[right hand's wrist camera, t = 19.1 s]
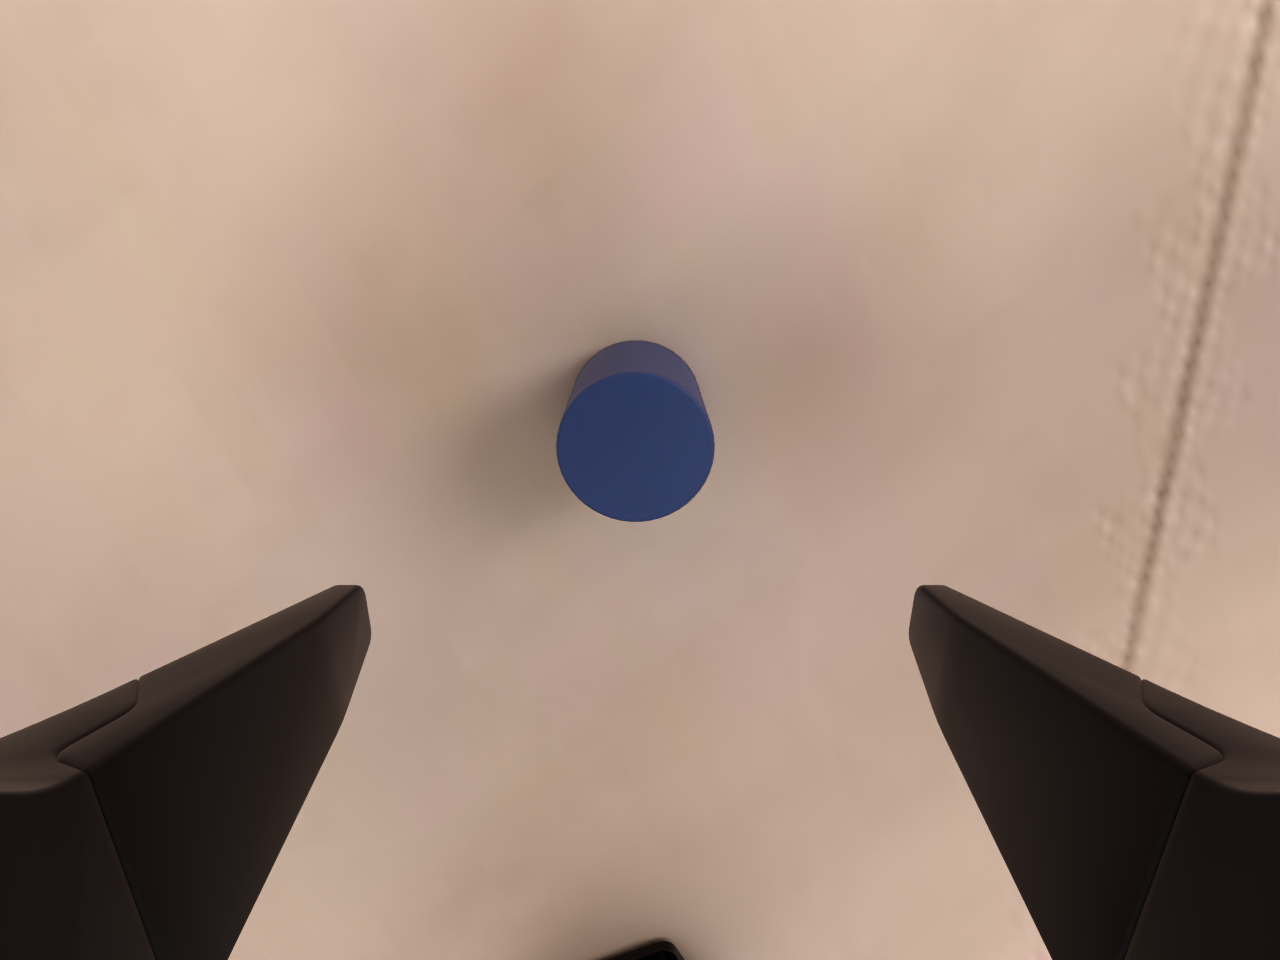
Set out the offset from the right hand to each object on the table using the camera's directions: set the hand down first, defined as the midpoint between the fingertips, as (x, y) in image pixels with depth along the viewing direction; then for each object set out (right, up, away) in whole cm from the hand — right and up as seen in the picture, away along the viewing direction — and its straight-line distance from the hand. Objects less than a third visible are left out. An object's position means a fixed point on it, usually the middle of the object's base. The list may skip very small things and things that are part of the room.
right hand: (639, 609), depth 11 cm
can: (0, +5, +11) cm, 12 cm away
